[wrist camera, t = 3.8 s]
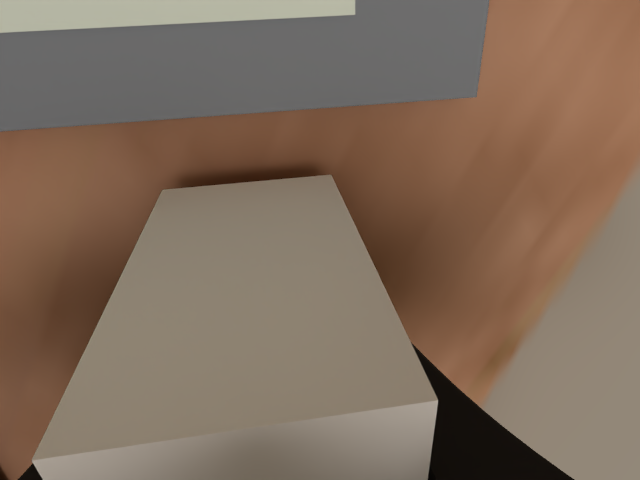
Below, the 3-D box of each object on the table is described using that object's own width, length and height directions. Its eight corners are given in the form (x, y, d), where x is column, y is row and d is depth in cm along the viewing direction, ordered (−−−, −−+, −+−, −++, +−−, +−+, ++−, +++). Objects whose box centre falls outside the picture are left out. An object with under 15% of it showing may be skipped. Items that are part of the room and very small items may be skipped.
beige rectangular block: (213, 407, 12) (184, 719, 7) (162, 189, 9) (31, 461, 4) (337, 389, 12) (401, 673, 7) (331, 174, 9) (438, 400, 4)
